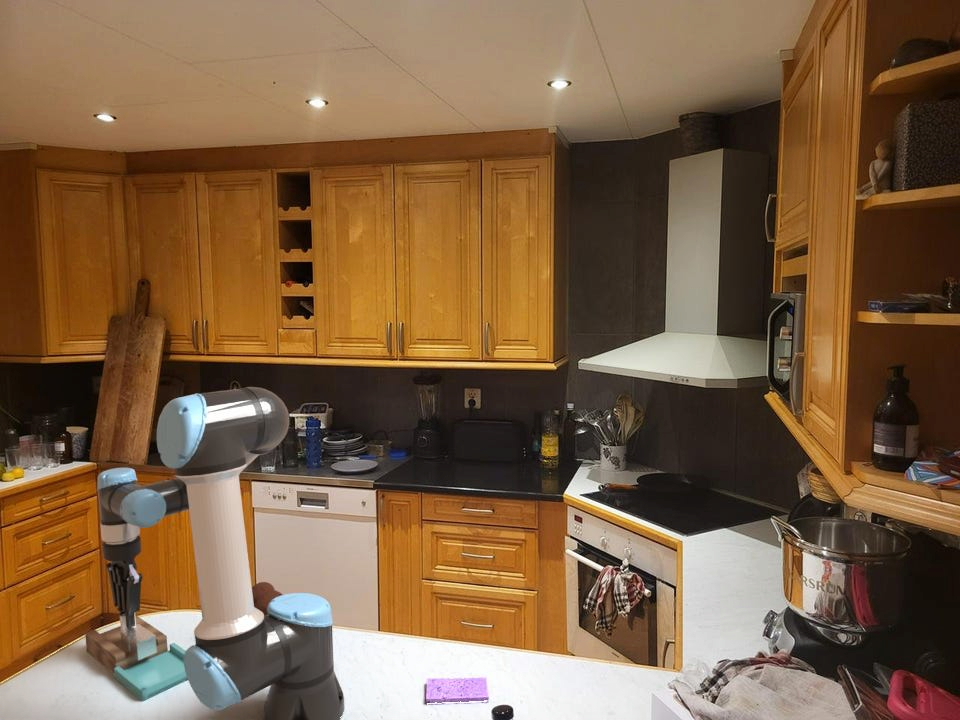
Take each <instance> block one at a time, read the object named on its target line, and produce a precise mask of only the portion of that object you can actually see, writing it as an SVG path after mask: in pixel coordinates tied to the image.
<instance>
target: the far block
mask: <svg viewBox="0 0 960 720" xmlns="http://www.w3.org/2000/svg"><path fill="white" fill-rule="evenodd" d="M145 630H147V629H145V628H144V627H143V626H141V625H140V624H137V625H135V626H134V627H131V628H127V629H124V630H122V631H120V633H121V646H122V649H123V650H125V651H126V652H127V653H129V654H130V647H129V637H130V636H132V635H135V634H137V633H140V632H142V631H145Z"/></svg>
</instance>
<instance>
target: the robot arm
mask: <svg viewBox="0 0 960 720" xmlns="http://www.w3.org/2000/svg"><path fill="white" fill-rule="evenodd" d="M289 426H290V415H289V410H288V408H287V406H286V405H285V402H284V401H283V400H282V399H281V398H280V397H279V396H278V395H277V394H275V393H274V392H272V391H270V390H268V389H266V388H263V387H255V386H246V387H241V388H234V389H227V390H218V391H211V392H202V393H194V394H190V395H185V396H181V397H177V398H174V399H172V400H170V401H169V402H168V403H167V404H165V405H164V407H163V409H162V411H161V413H160V415H159V417H158V422H157V428H156V447H157V451H158V453H159V454H160V460H161V462H162V463H163V464H164V466H166V467H167V468H169V469H174V473H175V474H174V475H175V478H171V479H168V480H163V481H162V480H161V481H157V482H152V483H149V484H143V485H141V484H137V483H138V478H137V475H136V471H135V469H133V468H130V467H115V468H110V469H107V470H104V471H102V472H100V473H99V474H98V476H97V488H96V491H97V496H98V497H97V498H98V507H99V518H100V536H101V541H103V542H102V557H103V558H104V560H106V561H109V562H107V563H106V565H105V567H106V570H107V572H108V577H109V583H110V587H111V588H110V589H111V595H112V600H113V605H114V607H117V611H118V612H119V623H120V626H121V631H122V630H124V629H127V628H131V627H134V626H135V625H136V618H135V615H136V613H137V612H139V611H140V610H141V591H142V581H143V577H144V575H143V574H142V572H141V573H137V569H138V568H137V562H136V560H135V558H136V557H138V556H139V555H140V554H141V552H142V541H141V540H142V539H141V538H142V537H141V536H140V534H141V530H140V529H141V528H142V529H143V528H145V529H146V528H149V527H150V528H151V527H153V526H155V525H157V524H158V523H159V522H160V521H161V520H162V519H163V518H164V517H168V516H172V515H175V514H179V513H183V512H186V511H188V512H189V517H190V518H189V519H190V526H191V535H192V542H193V544H192V545H193V552H194V560H195V566H196V568H195V569H196V576H197V587H198V594H199V603H200V611H201V617H202V619H201V621H200V622H199V623H198V624H197V625H196V626H195V628H194V639H195V640H194V641H195V642H194V643H195V644H194V645H193V644H192V645H190V647H188V648H187V649H185V654H184V655H185V656H184V668H185V672H186V676H187V678H188V680H187V681H188V683H189V685H190V687H191V689H192V691H193V693H194V694H195V696H196V697H197V699H198V700H199V702H200V703H201V704H203V706H205V707H207V709H210V710H212V711H222V710H224V709H227V708H229V707H231V706H232V705H235V704H240V703H241V701H243V700H245V699H247V698H249V697H251V696H253V695H255V694H257V693H259V692H261V691H262V690H264V689H266V688H268V687H269V691H268V693H267V699H266V701H265V704H264V707H263V720H339V719H340V720H341V718H342V717H341V716H343V715H344V713H345V695H344V692H343V690H342V686H341V685H340V682H339V680H338V679H339V678H338V677H337V674H336V671H335V669H334V668H335V666H334V639H333V637H334V636H333V624H334V619H333V613H332V608H331V604H330V603H329V601H328V600H327V599H325V598H324V597H322V596H321V595H317V594H313V593H305V592H292V593H285V594H282V595H281V596H278V597H276V598H274V599H273V600H271V602H270V603H269V605H268V608H267V612H268V614H267V615H266V616H264V614H263V612H261V611H260V610H258V609H257V608H255V607H254V603H253V594H252V587H253V586H252V579H251V569H250V561H249V554H248V546H247V536H246V526H245V519H244V518H245V517H244V511H243V509H244V508H243V501H242V493H241V486H240V485H241V484H240V474H241V473H242V472H243V470H244V469H246V468H247V467H248V466H249V465H250V464H252V462H254V461H255V459H256V458H258V456H261V455H266V454H268V453H270V452H272V451H273V450H274V449H275V448H276V447H277V446H278V445H280V443H281V442H282V441H283V440H284V439H285V438H286V435H287V434H288V430H289ZM343 712H344V713H343ZM340 717H341V718H340Z"/></svg>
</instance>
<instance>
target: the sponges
mask: <svg viewBox="0 0 960 720" xmlns="http://www.w3.org/2000/svg"><path fill="white" fill-rule="evenodd" d="M425 696H426V697H425V699H426V704H427V703H435V702H437V703H442V702H460V701H461V702H469V701H484V700H489V701H490V697H489V689H488V681H487V677H486V676H485V677H482V676H481V677H467V678H466V677H464V678H463V677H457V678H456V677H453V678H449V677H441V678H437V677H433V678H432V677H431V678H426V694H425Z"/></svg>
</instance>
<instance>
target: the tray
mask: <svg viewBox="0 0 960 720" xmlns="http://www.w3.org/2000/svg"><path fill="white" fill-rule="evenodd" d="M185 651H186V649H184V648H183V647H181V646H180V645H178V644H176V643H175V642H172V643H169V650H168V651H167V652H165V653H163V654H160V655H158V656H156V657H153V658H151V659H149V660H146V661H144V662H142V663H140V664H137V665H135V666H133V667H130V668H128V669H126V670H123V669H122V668H120V667H119V666H118V667H116V668H114V674H113V675H114V680H117V681H118V682H119V683H120V684H121V685H123V686H124V687H125V688H126V689H127V690H128V691H130V692H131V693H132V694H133V695H134V696H136V698H138V699H139V700H140V701H142V702H144V701H147V700H149V699H150V698H152V697H154V696H157V695H159V694H161V693H163V692H165V691H167V690H169V689H171V688H173V687H175V686H177V685H179V684H182V683H184V682H185V681H188V678H187V676H186V672H185V668H184V656H185V655H184V654H185Z"/></svg>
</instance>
